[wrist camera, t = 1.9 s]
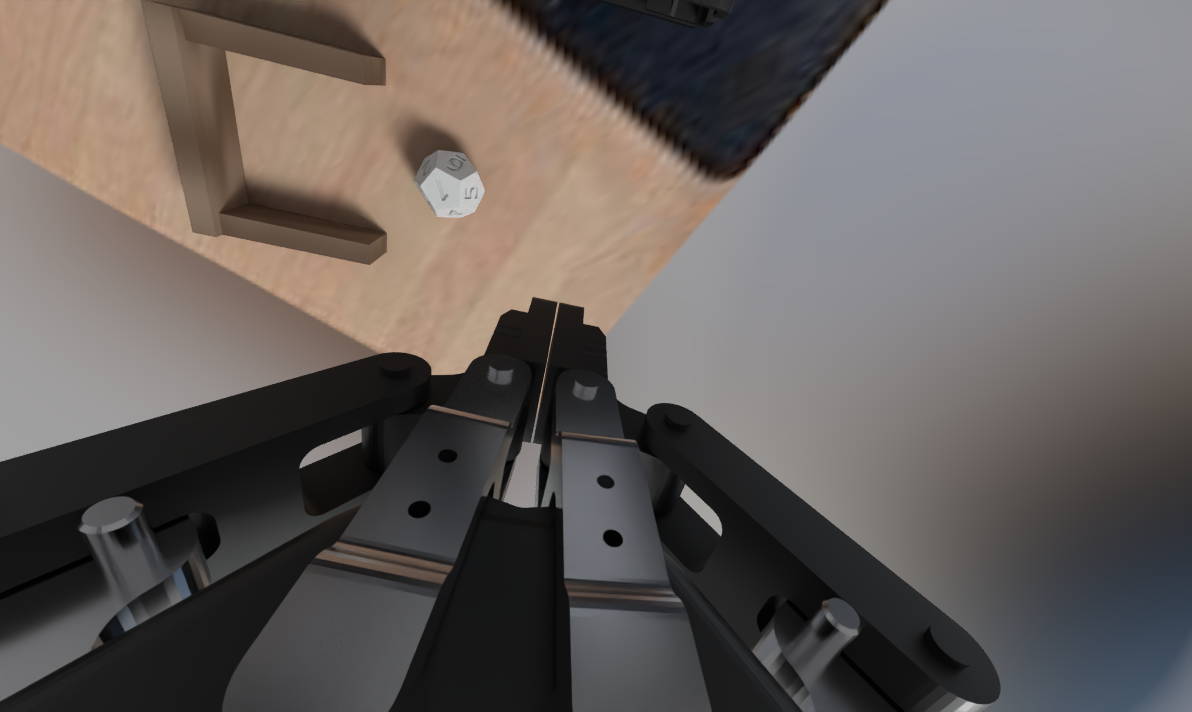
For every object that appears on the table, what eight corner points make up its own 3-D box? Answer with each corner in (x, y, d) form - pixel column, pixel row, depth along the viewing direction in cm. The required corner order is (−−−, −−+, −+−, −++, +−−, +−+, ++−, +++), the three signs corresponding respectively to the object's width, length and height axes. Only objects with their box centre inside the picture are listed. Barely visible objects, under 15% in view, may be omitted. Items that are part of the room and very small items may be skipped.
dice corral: (193, 9, 22) (140, -1, 20) (385, 58, 23) (359, 55, 21) (230, 218, 27) (192, 232, 25) (386, 251, 28) (365, 267, 26)
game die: (478, 142, 25) (465, 147, 23) (494, 209, 27) (483, 221, 25) (417, 150, 26) (397, 156, 23) (437, 216, 27) (420, 229, 25)
